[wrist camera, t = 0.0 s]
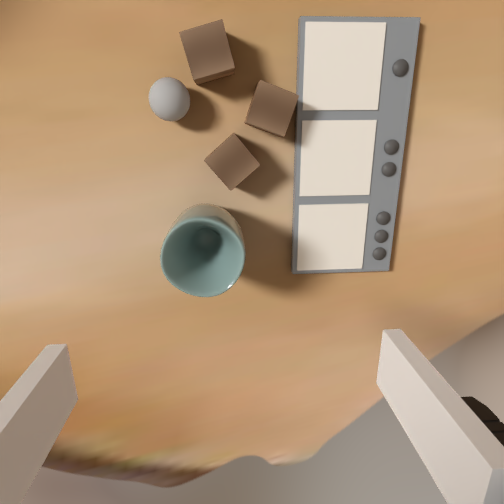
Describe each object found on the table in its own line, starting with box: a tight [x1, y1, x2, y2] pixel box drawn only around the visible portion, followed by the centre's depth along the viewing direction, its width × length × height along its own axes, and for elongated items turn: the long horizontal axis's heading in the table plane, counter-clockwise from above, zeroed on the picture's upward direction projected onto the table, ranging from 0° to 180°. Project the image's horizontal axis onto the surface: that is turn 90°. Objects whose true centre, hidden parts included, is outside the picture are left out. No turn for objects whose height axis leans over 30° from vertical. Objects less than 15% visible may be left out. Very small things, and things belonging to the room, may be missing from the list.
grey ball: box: [149, 77, 190, 121], centre depth 35 cm, size 4×4×4 cm
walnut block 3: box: [244, 80, 299, 137], centre depth 36 cm, size 4×4×4 cm
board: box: [291, 16, 420, 274], centre depth 40 cm, size 27×12×1 cm, turn 0°
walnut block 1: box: [179, 19, 235, 85], centre depth 34 cm, size 4×4×4 cm
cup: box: [160, 204, 246, 297], centre depth 37 cm, size 8×8×10 cm
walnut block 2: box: [204, 133, 260, 191], centre depth 38 cm, size 4×4×4 cm
